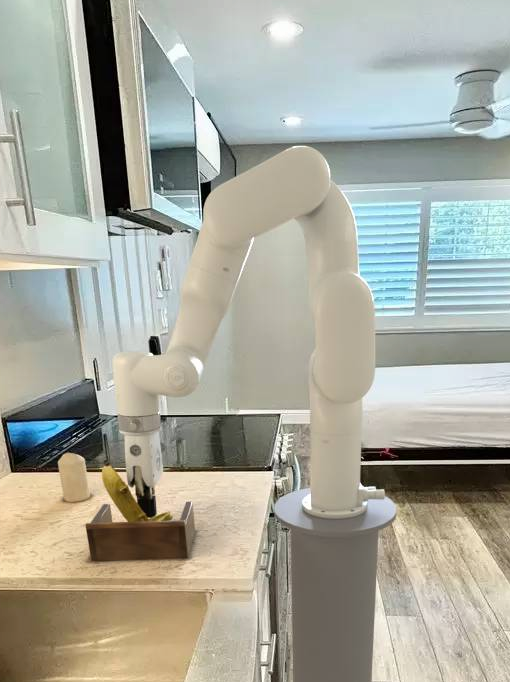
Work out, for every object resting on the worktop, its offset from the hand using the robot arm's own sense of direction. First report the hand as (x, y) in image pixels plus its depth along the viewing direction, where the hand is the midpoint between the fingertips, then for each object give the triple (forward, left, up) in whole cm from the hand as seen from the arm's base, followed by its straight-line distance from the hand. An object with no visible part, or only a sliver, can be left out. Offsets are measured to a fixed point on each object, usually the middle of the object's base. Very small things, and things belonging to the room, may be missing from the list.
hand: (147, 516), depth 110 cm
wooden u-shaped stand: (-1, +8, -2) cm, 9 cm away
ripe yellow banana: (0, +5, -2) cm, 6 cm away
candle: (+19, -17, -2) cm, 25 cm away
